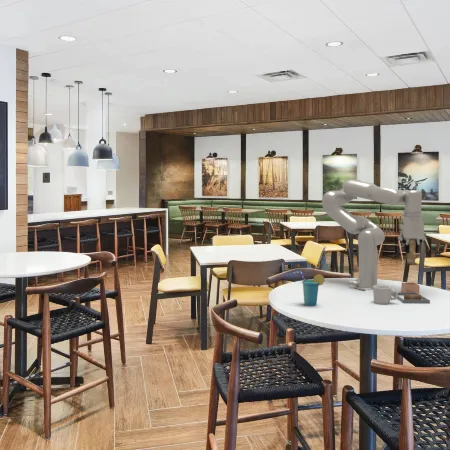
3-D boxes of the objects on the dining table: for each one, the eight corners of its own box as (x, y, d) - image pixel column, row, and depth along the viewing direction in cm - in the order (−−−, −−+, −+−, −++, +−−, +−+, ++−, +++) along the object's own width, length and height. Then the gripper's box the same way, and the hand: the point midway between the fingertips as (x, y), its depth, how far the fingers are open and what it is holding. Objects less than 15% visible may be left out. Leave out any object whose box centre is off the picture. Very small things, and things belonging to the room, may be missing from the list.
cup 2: (397, 303, 213) (397, 285, 212) (397, 307, 205) (398, 289, 205) (372, 301, 216) (373, 284, 216) (372, 305, 209) (372, 287, 208)
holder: (406, 296, 227) (406, 284, 227) (401, 293, 234) (401, 282, 233) (419, 296, 227) (419, 285, 227) (414, 293, 233) (414, 282, 233)
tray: (403, 304, 210) (403, 299, 210) (390, 296, 226) (391, 292, 226) (429, 304, 210) (429, 300, 210) (415, 296, 226) (415, 292, 226)
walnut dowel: (406, 298, 212) (405, 293, 214) (404, 302, 215) (403, 296, 217) (422, 299, 212) (420, 293, 214) (419, 302, 215) (418, 296, 216)
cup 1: (292, 305, 207) (292, 272, 206) (293, 301, 214) (293, 269, 213) (324, 307, 204) (324, 273, 203) (324, 303, 211) (324, 270, 210)
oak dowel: (408, 263, 227) (409, 239, 226) (406, 262, 231) (406, 238, 230) (416, 263, 227) (417, 239, 226) (413, 262, 231) (414, 238, 230)
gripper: (398, 215, 224) (397, 253, 225) (433, 216, 224) (431, 253, 225) (393, 215, 231) (391, 251, 232) (426, 215, 231) (425, 251, 232)
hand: (411, 252), depth 229 cm, fingers closed on oak dowel, 3 cm apart
